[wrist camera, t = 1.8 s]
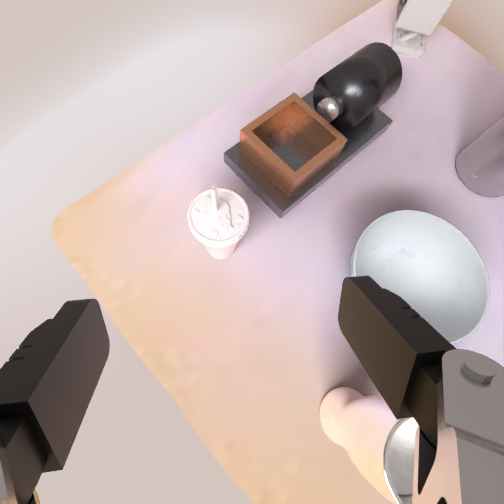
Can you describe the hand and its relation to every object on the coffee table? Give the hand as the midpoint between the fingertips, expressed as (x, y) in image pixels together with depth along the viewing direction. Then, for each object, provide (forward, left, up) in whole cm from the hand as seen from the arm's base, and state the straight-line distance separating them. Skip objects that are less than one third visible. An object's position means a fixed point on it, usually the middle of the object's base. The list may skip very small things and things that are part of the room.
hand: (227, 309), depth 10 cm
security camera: (-37, -48, -27) cm, 66 cm away
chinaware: (-21, -4, -27) cm, 34 cm away
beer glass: (-12, +10, -27) cm, 31 cm away
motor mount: (-15, -27, -27) cm, 41 cm away
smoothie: (0, -12, -27) cm, 29 cm away
